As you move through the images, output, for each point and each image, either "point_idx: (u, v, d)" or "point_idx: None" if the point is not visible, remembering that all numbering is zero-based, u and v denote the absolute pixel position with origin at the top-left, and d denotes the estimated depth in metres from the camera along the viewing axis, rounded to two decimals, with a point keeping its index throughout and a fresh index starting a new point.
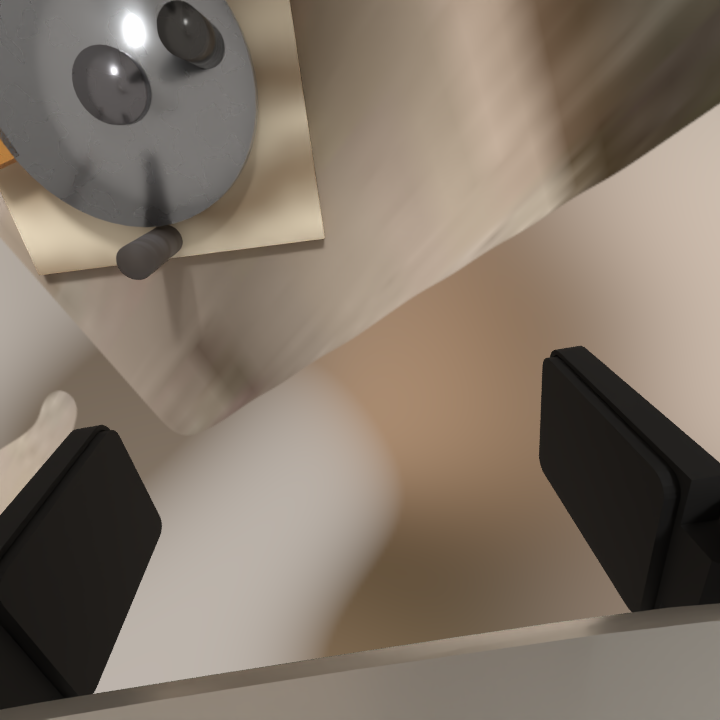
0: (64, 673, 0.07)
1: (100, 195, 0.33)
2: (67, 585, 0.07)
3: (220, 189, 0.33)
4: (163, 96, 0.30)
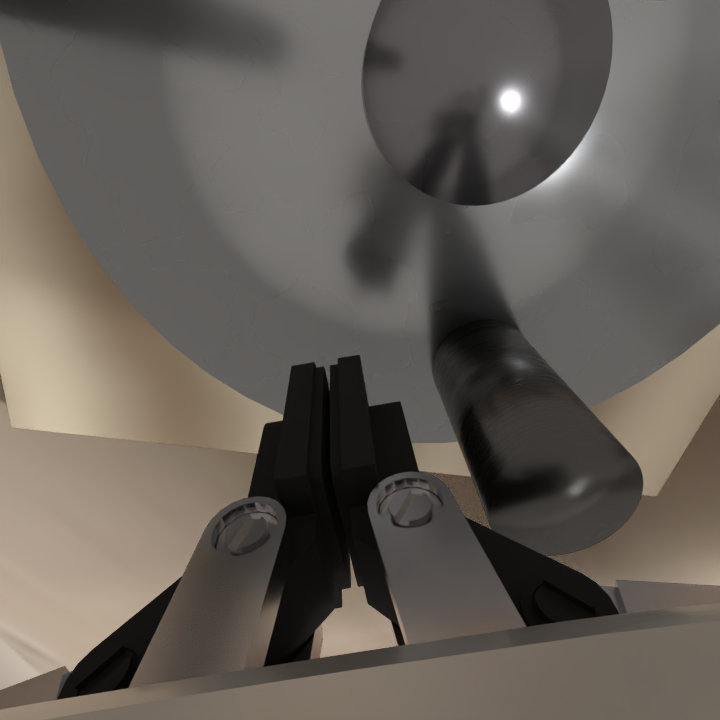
0: (341, 560, 0.08)
1: None
2: (333, 488, 0.08)
3: (139, 292, 0.11)
4: (408, 223, 0.10)
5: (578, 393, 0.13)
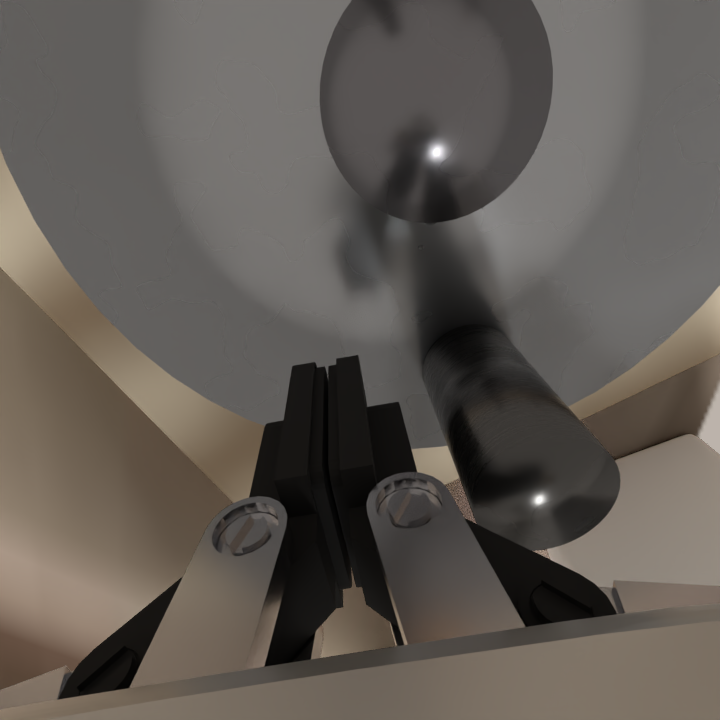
0: (342, 561, 0.08)
1: None
2: None
3: (138, 332, 0.11)
4: (382, 242, 0.11)
5: (569, 386, 0.13)
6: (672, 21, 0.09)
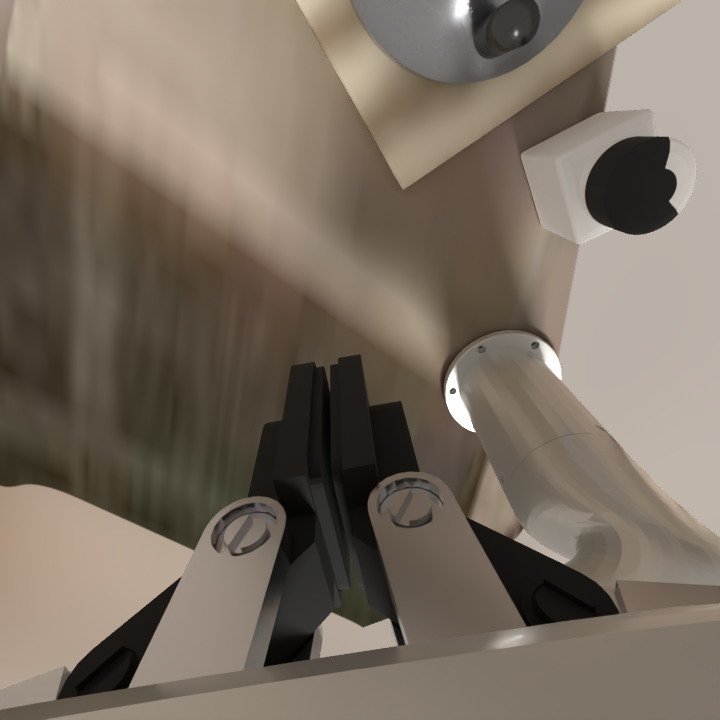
0: (341, 560, 0.08)
1: None
2: (333, 488, 0.08)
3: (368, 19, 0.31)
4: None
5: (532, 47, 0.32)
6: None
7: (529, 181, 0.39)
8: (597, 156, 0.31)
